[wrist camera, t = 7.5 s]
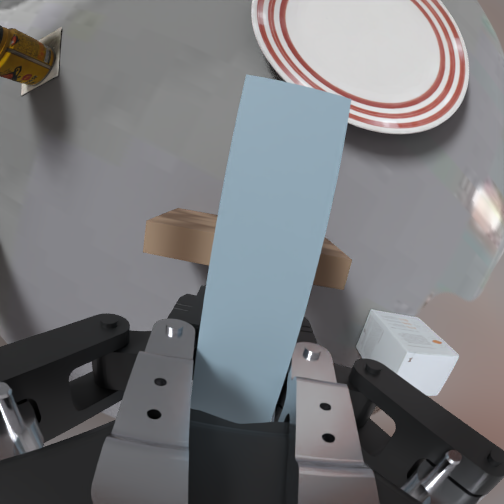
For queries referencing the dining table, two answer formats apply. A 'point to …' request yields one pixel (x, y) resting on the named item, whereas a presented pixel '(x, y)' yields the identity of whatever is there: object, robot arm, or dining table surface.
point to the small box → (407, 350)
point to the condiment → (29, 57)
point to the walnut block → (201, 241)
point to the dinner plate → (370, 57)
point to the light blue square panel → (266, 244)
